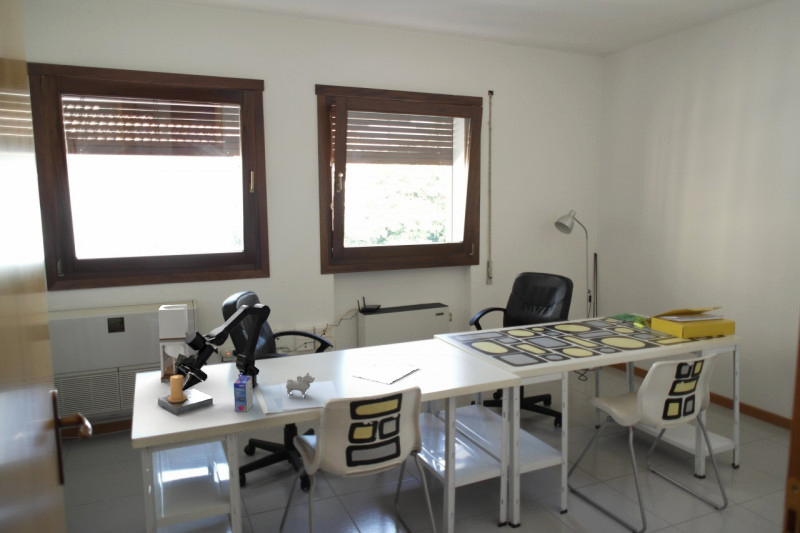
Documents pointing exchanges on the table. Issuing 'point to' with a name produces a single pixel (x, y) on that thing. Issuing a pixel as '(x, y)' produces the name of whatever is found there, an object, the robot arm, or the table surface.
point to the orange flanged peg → (176, 390)
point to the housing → (186, 402)
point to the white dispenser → (172, 337)
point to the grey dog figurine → (300, 383)
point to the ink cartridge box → (243, 393)
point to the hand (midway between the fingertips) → (177, 387)
